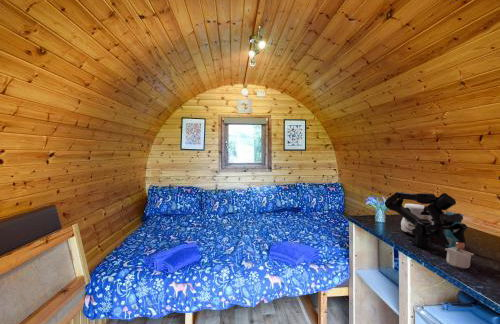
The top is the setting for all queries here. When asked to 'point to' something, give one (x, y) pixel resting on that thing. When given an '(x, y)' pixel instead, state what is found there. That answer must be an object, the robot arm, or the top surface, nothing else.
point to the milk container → (417, 211)
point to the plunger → (459, 245)
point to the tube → (449, 234)
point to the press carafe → (458, 257)
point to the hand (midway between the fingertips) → (456, 245)
